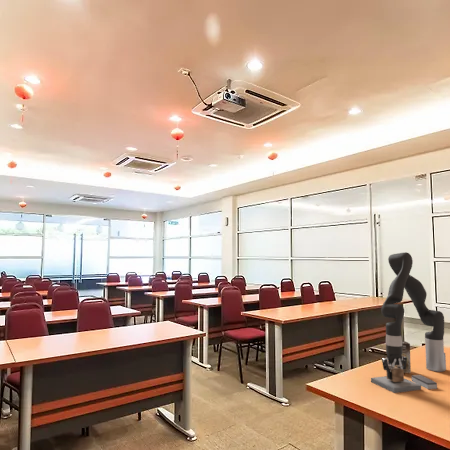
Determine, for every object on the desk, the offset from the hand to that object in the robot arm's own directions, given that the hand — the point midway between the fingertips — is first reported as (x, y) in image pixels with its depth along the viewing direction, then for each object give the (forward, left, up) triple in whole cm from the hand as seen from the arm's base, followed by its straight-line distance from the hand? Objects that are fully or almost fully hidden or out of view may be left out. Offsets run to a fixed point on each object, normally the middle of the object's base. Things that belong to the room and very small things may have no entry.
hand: (395, 378), depth 182 cm
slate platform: (0, 0, -3) cm, 3 cm away
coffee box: (-20, -18, -4) cm, 27 cm away
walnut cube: (0, 0, -1) cm, 1 cm away
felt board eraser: (-15, +3, -4) cm, 16 cm away
